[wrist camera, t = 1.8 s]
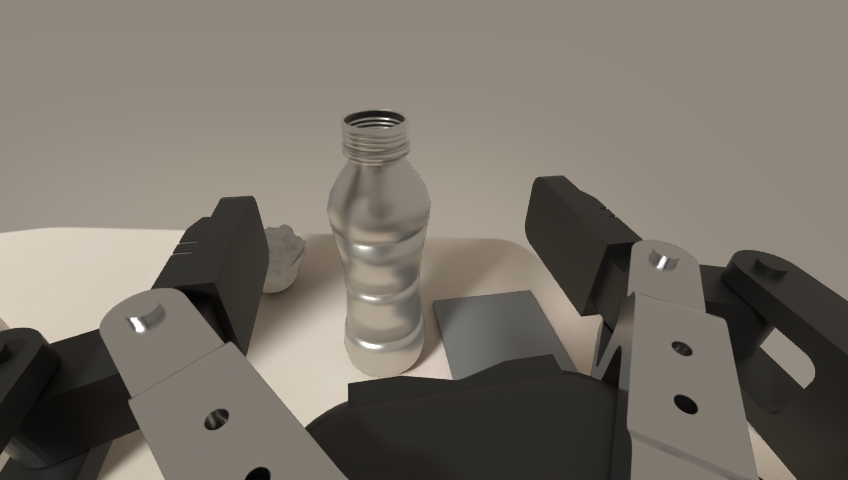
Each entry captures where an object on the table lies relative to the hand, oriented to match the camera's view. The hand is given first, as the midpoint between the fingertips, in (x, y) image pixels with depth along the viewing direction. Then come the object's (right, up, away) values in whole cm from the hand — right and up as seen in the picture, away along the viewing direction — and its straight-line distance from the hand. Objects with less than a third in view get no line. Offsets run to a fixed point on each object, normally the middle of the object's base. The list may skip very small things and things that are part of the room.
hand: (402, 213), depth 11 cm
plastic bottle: (-3, -11, +21) cm, 24 cm away
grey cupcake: (-14, -6, +27) cm, 31 cm away
